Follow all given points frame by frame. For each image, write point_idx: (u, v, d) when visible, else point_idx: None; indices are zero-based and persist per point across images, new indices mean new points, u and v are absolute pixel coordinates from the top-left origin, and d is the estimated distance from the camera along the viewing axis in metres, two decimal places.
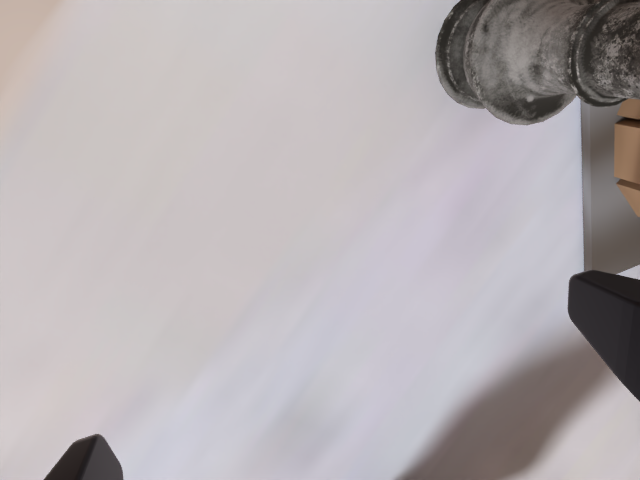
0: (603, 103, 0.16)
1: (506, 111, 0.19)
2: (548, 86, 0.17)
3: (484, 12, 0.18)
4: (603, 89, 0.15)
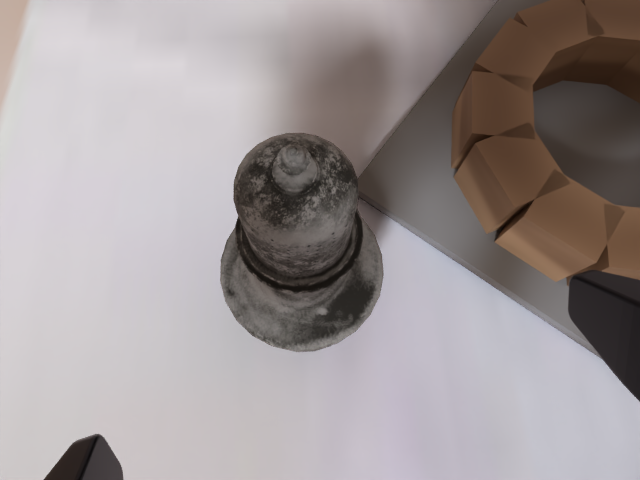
0: (333, 277, 0.13)
1: (317, 338, 0.16)
2: (304, 295, 0.15)
3: (221, 282, 0.17)
4: (301, 272, 0.12)
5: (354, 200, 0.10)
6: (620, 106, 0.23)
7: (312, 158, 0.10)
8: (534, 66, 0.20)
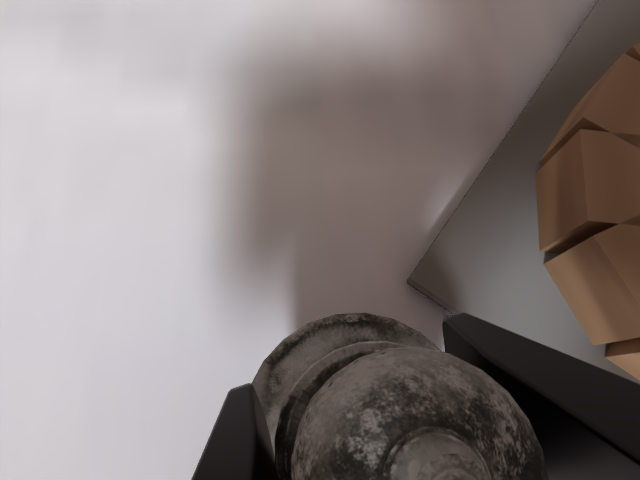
0: None
1: None
2: None
3: None
4: None
5: None
6: None
7: (473, 451, 0.05)
8: None
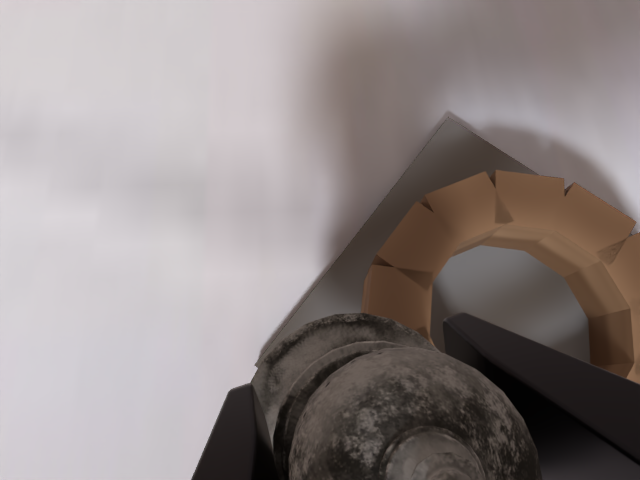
0: None
1: None
2: None
3: None
4: None
5: None
6: (536, 276, 0.22)
7: (468, 450, 0.05)
8: (436, 259, 0.19)
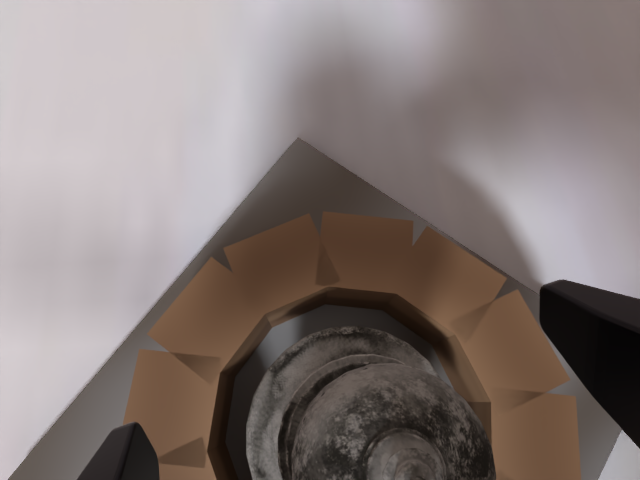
0: None
1: None
2: None
3: (247, 456, 0.13)
4: None
5: None
6: None
7: (432, 446, 0.06)
8: (229, 339, 0.14)
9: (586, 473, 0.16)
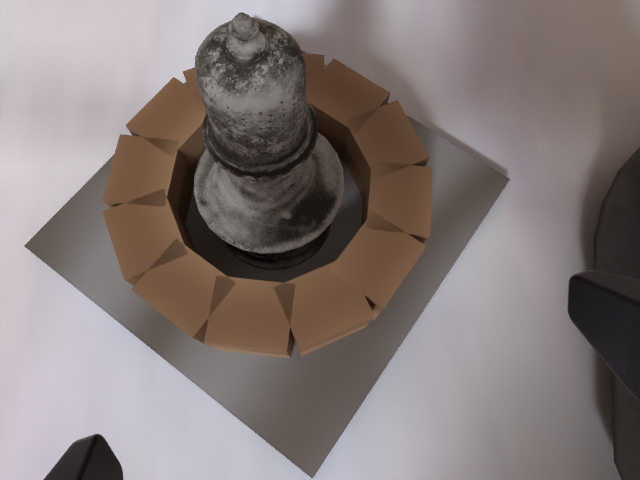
0: (290, 165, 0.14)
1: (283, 241, 0.17)
2: (268, 194, 0.16)
3: (194, 194, 0.18)
4: (260, 156, 0.14)
5: (300, 74, 0.12)
6: None
7: (261, 33, 0.11)
8: (185, 129, 0.20)
9: (454, 246, 0.21)
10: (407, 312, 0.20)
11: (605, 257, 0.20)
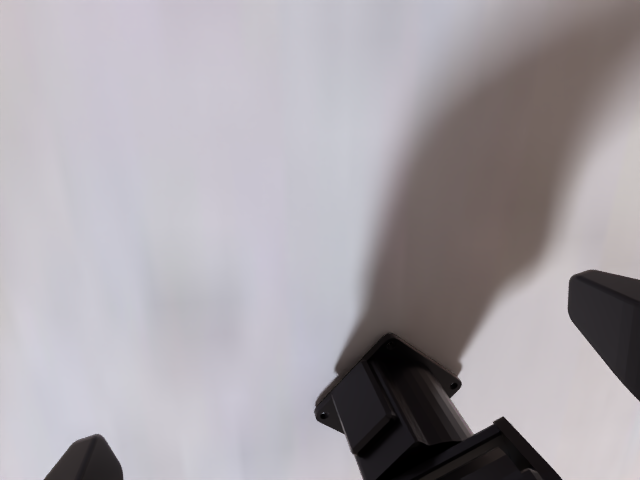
0: None
1: None
2: None
3: None
4: None
5: None
6: None
7: None
8: None
9: None
10: None
11: None
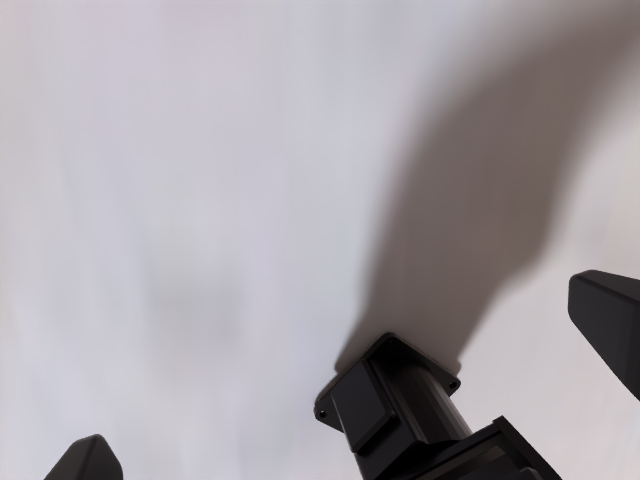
0: None
1: None
2: None
3: None
4: None
5: None
6: None
7: None
8: None
9: None
10: None
11: None
